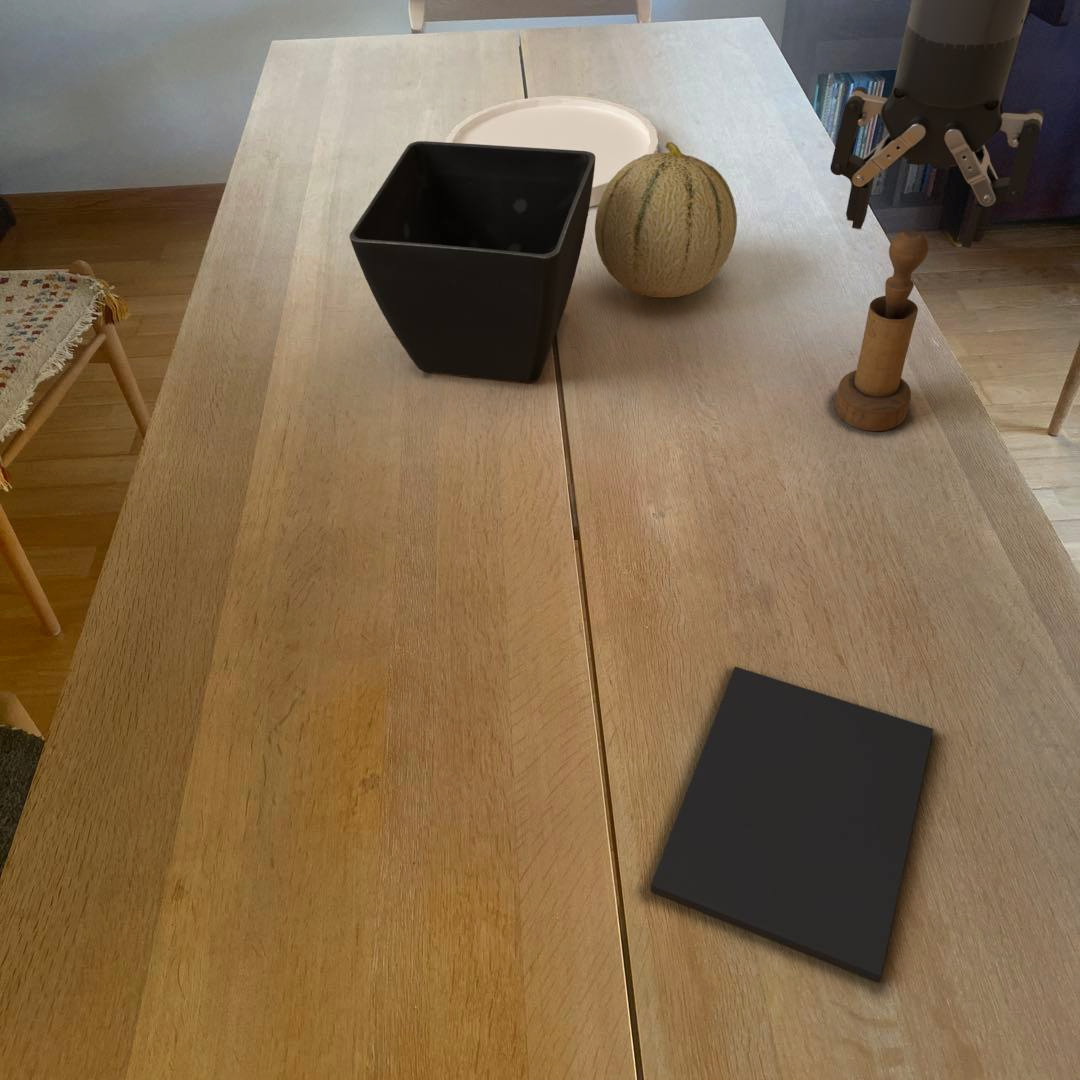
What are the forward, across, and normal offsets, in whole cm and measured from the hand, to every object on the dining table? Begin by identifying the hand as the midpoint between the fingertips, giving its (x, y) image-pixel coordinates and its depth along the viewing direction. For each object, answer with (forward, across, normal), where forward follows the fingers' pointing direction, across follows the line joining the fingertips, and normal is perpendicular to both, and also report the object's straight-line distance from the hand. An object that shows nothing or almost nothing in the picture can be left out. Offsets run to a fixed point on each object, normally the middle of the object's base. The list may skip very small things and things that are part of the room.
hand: (912, 233), depth 80 cm
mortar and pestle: (+18, 0, 0) cm, 18 cm away
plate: (+18, -49, +37) cm, 64 cm away
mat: (+18, +4, -43) cm, 47 cm away
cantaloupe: (+18, -25, +13) cm, 34 cm away
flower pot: (+18, -38, -3) cm, 42 cm away
